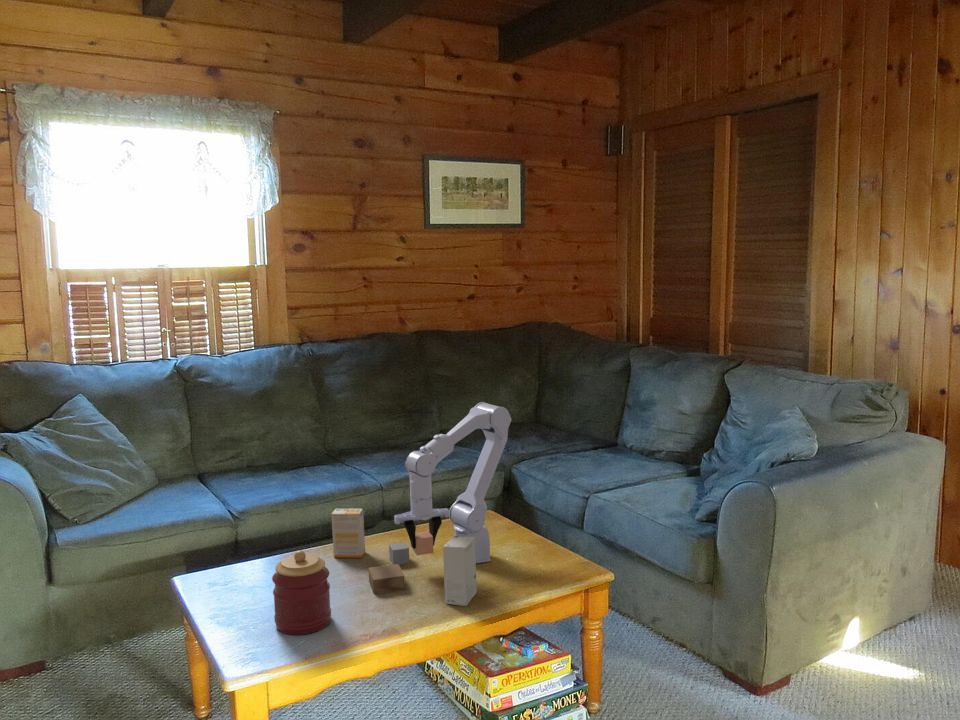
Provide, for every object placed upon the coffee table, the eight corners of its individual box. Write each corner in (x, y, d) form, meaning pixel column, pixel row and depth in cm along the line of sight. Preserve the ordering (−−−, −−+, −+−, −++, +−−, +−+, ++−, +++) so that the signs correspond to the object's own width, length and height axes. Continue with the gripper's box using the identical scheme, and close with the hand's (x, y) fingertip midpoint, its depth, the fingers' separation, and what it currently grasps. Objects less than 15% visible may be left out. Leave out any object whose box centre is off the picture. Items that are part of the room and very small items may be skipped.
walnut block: (399, 578, 214) (398, 563, 213) (404, 590, 206) (404, 575, 206) (369, 582, 212) (368, 567, 211) (373, 594, 204) (372, 579, 204)
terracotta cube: (428, 546, 219) (428, 530, 218) (433, 552, 214) (432, 536, 214) (412, 549, 217) (412, 533, 216) (417, 555, 213) (416, 539, 212)
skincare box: (466, 607, 196) (465, 548, 194) (443, 604, 198) (442, 546, 196) (477, 592, 204) (476, 536, 202) (454, 590, 206) (453, 534, 203)
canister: (265, 621, 190) (261, 549, 188) (316, 605, 198) (312, 536, 196) (289, 642, 180) (285, 566, 178) (341, 624, 188) (338, 552, 186)
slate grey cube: (405, 557, 227) (404, 542, 227) (409, 563, 223) (408, 547, 222) (389, 560, 226) (389, 544, 225) (393, 566, 222) (392, 550, 221)
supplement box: (365, 551, 232) (364, 508, 230) (361, 558, 227) (359, 513, 225) (337, 551, 233) (335, 507, 231) (333, 557, 228) (330, 513, 226)
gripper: (398, 504, 207) (400, 555, 209) (452, 497, 212) (453, 547, 214) (391, 496, 214) (393, 545, 216) (443, 489, 219) (445, 538, 221)
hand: (422, 545), depth 215 cm, fingers closed on terracotta cube, 4 cm apart
